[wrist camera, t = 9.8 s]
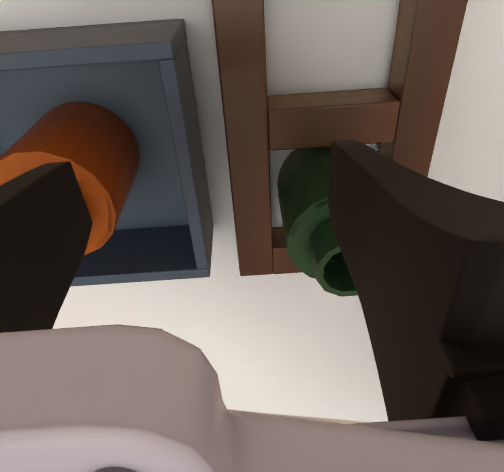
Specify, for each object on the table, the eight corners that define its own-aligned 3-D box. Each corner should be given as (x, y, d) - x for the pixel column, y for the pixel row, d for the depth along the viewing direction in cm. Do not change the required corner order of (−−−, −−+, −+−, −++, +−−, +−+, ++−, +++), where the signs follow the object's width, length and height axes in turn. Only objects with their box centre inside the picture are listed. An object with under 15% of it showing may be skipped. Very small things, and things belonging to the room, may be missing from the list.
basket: (213, 226, 24) (209, 277, 21) (28, 238, 25) (-7, 292, 21) (183, 18, 18) (171, 41, 14) (-72, 36, 18) (-149, 63, 14)
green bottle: (361, 214, 24) (402, 308, 18) (278, 220, 24) (292, 315, 18) (371, 136, 21) (424, 216, 15) (276, 142, 21) (292, 225, 15)
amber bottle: (149, 189, 22) (117, 285, 16) (58, 195, 22) (-7, 293, 16) (126, 97, 19) (78, 174, 13) (21, 105, 19) (-75, 184, 13)
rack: (473, -138, 15) (502, -146, 13) (396, 244, 26) (407, 265, 24) (202, -118, 15) (198, -123, 13) (239, 255, 26) (240, 276, 24)
